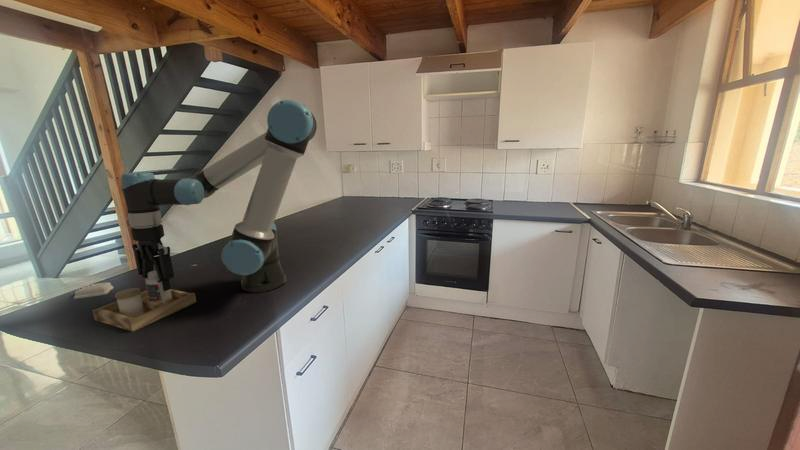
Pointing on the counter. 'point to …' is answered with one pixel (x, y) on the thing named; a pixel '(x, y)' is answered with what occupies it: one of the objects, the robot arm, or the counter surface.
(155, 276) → the pill bottle
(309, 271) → the counter surface
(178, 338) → the counter surface
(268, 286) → the robot arm
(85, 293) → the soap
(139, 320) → the caddy
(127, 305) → the jar
